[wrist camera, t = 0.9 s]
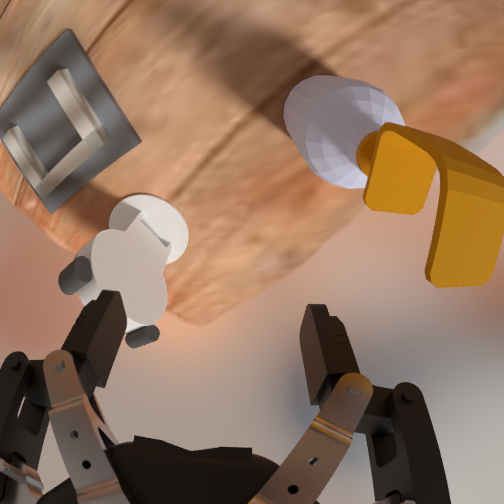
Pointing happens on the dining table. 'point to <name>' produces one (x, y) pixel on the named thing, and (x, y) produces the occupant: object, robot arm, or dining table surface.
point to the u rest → (63, 123)
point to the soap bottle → (401, 171)
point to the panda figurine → (131, 262)
